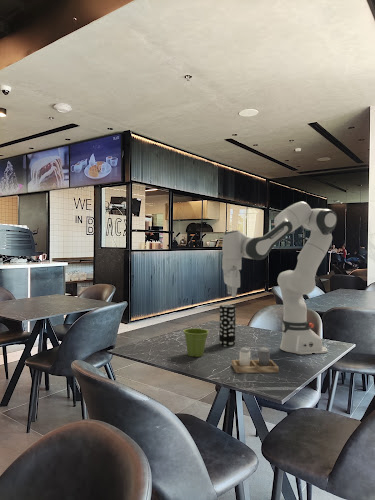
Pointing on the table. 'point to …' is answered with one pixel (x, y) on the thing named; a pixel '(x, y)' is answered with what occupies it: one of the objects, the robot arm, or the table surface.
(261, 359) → the pepper shaker
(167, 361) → the table surface
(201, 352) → the plant pot
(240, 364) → the salt shaker
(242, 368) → the caddy
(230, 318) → the spotted tube
